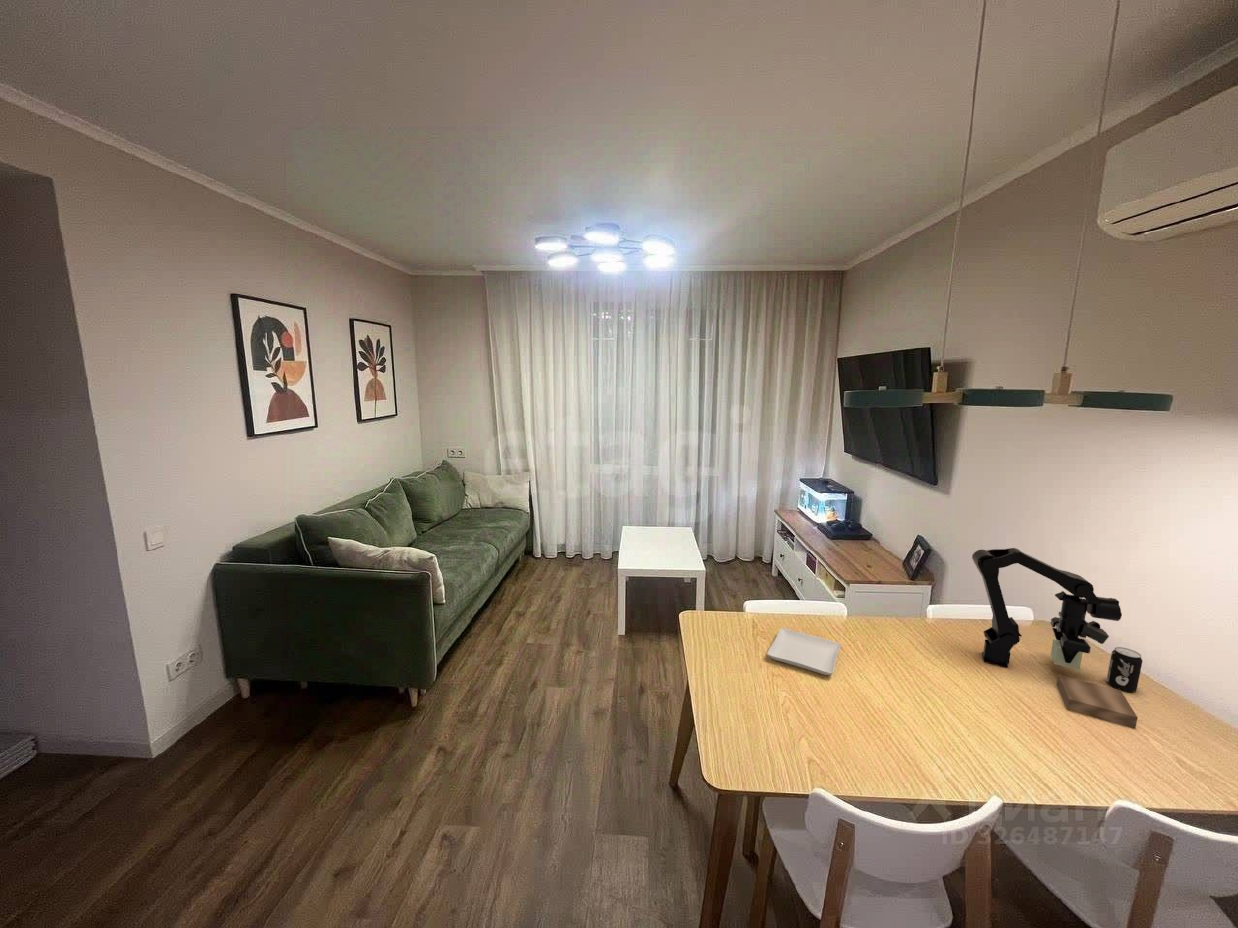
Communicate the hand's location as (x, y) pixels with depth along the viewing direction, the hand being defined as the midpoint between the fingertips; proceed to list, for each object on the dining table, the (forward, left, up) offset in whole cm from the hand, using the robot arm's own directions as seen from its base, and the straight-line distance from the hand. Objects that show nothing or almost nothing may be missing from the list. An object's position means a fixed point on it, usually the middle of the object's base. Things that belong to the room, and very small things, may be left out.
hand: (1065, 658), depth 154 cm
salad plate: (-74, -36, -6) cm, 83 cm away
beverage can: (+14, +1, -6) cm, 15 cm away
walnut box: (+4, -16, -6) cm, 18 cm away
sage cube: (0, 0, -2) cm, 2 cm away
